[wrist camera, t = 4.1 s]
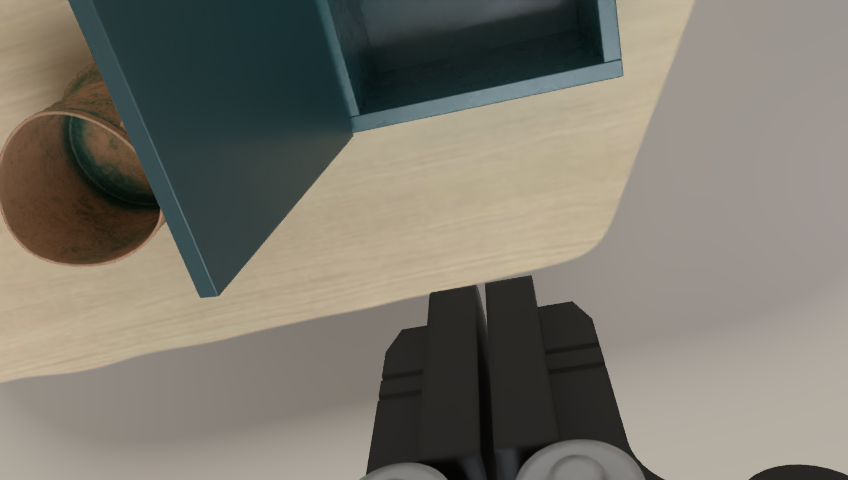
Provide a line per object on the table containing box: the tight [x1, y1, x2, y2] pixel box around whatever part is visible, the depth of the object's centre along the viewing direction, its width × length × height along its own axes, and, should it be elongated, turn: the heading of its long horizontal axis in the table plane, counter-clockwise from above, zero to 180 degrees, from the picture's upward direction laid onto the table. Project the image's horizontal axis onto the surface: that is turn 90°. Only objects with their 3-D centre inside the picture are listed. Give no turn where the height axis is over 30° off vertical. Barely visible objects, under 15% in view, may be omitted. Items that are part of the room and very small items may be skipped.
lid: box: [68, 0, 353, 298], centre depth 29 cm, size 16×12×1 cm
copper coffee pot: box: [0, 63, 166, 267], centre depth 43 cm, size 12×18×12 cm, turn 137°
